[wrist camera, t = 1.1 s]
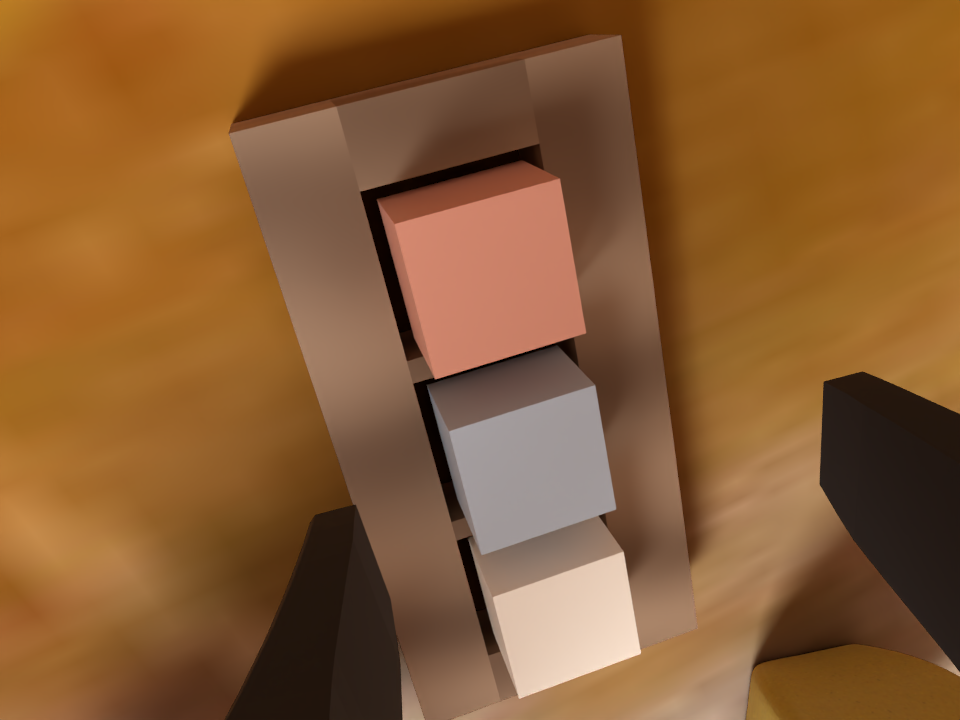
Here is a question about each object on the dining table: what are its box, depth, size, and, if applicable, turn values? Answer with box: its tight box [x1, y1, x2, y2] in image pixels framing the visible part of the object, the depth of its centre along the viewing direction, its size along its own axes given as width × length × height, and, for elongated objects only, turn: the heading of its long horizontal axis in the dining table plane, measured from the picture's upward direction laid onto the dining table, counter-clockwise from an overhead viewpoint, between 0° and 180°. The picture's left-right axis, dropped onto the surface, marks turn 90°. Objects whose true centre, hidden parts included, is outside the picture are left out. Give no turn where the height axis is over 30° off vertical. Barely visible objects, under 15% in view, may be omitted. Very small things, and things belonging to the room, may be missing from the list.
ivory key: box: [468, 516, 641, 699], centre depth 25 cm, size 4×4×3 cm
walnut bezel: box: [229, 35, 698, 720], centre depth 25 cm, size 20×10×2 cm, turn 12°
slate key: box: [427, 345, 616, 555], centre depth 23 cm, size 4×4×3 cm
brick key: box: [377, 160, 586, 379], centre depth 21 cm, size 4×4×3 cm
